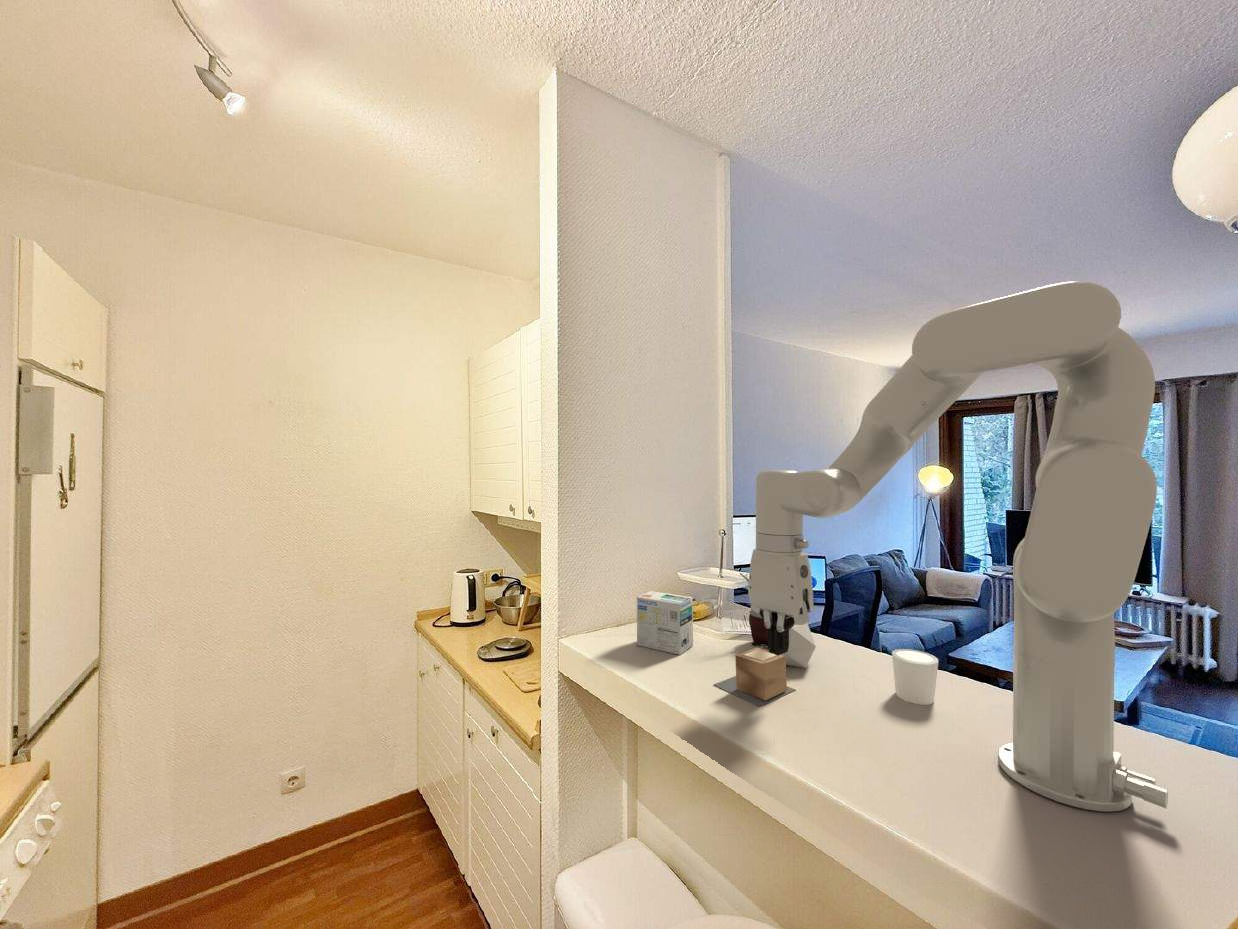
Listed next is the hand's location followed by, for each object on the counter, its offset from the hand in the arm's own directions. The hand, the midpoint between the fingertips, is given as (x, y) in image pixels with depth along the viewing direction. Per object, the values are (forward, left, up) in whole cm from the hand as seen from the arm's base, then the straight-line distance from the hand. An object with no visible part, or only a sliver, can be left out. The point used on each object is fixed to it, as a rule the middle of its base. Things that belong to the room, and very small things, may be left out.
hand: (778, 652), depth 85 cm
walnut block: (+4, 0, -2) cm, 4 cm away
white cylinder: (-14, -19, -8) cm, 25 cm away
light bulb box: (+29, -1, -8) cm, 31 cm away
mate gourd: (+17, -19, -8) cm, 27 cm away
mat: (+5, 0, -8) cm, 9 cm away
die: (+7, -15, -8) cm, 19 cm away
